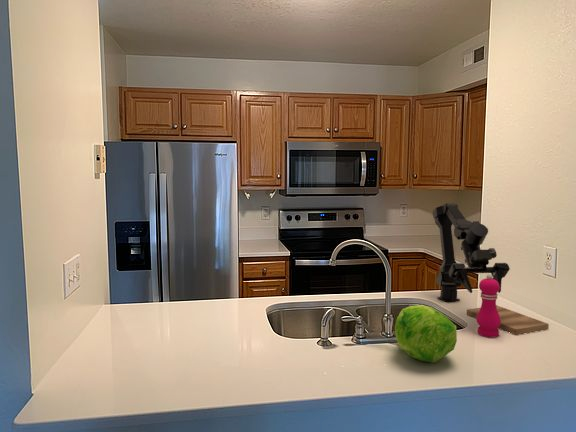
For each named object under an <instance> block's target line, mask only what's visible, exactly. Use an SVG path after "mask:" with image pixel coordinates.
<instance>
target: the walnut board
mask: <svg viewBox="0 0 576 432" xmlns="http://www.w3.org/2000/svg"><path fill="white" fill-rule="evenodd" d="M480 308H481V307H475V308H469V309H468V308H467V309H466V315H467V316H469V317H471V318H473V319H477V314H478V312H479V310H480ZM496 308H497V311H498V313H499V316H500V319H501V325H500V326H499V327H498V329H500V330H503V331H505V332H506V331H507V333H509V332H510V333H509V334H511V333H512V334H511V335H514V336H520V335H519V334H521V335H525V334H524V333H527V334H531V333H530V332H532V333H536V332H535V331H538V332H542V331H541V330H543V331H547V329H548V330H549V326H550V325H549V323H547V322H544V321H542V320H539V319H536V318H533V317H531V316H528V315H525V314H522V313H519V312H517V311H515V310H511V309H508V308H505V307H503V306H499V305H497V304H496Z"/></svg>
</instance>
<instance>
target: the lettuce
mask: <svg viewBox="0 0 576 432" xmlns="http://www.w3.org/2000/svg"><path fill="white" fill-rule="evenodd" d="M395 321H396V322H395V324H394V325H395V326H394V333H395V339H396V341H397V345H398V347H399V348H400V350H402V351H403V352H405V353H406V354H407V355H408V356H409V357H411V358H414V359H415V360H418V361H420V362H421V361H422V362H427V363H436V362H438V361H440V360H441V359H442V358H444V357H446V356H447V355H448V354H450V353H451V352H452V351H454V350H455V347H456V345H457V342H458V341H457V339H458V338H457V335H458V334H457V332H458V331H457V325H456V324H454V322H452V321H451V320H450V318H449V317H447V315H445V314H443V313H442V312H440V311H438V310H437V309H435V308H433V307H431V306H427V305H421V304H419V305H411V306H410V305H409V306H407V307H404V308H402V309H401V311H400V312H399V314H398V316H397V317H396V320H395Z"/></svg>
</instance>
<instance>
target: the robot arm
mask: <svg viewBox="0 0 576 432" xmlns="http://www.w3.org/2000/svg"><path fill="white" fill-rule="evenodd" d="M432 218H433V219H434V223H435V225H436V226H437V227H438V229H439V235H440V244H441V245H440V246H441V257H442V263H441V265H440V268H439V272H438V273H437V274H438V275H437V277H436V285H438V286H439V287H440V296H437V299H439V300H441V301H443V302H445V303H450V302H456V301H457V302H459V301H460V298H458V287H464V288H465V289H466V290H467V291H468V292H469V293H470V294H472V293H473V288H472V285H471V282H470V280H469V276H468V274H491V275H492V276H493V277H492V279H494V280H496V281H497V282H498V283H499V286H500V289H499V291H498V292H497V293H498V294H500V293H501V292H502V279H503V278H505V277H506V275H507V274H508V273H509V271H510V270H511V268H510V265H509V264H508V263H507V262H495V263H494V264H493V266H487V265H489V264H490V262H489V261H491V260H492V259H495V258H497V252H496V249H495V247H493V248H492V247H489V248H488V249H482V248H481V245H482V244H483V243H484V242H485V240H486V237H487V235H488V234H489V228H488V227H487V226H486V225H484V224H482V223H480V221H479V220H474V221H470V220H468V219H466V217H465V216H464V215H463V213H462V212H461V210H460V209H459V205H458V204H457V203H454V202H453V203H448V202H447V203H446V202H445V203H443V205H440V206H437V207H435V208H434V209H433V210H432ZM452 226H453V232H452ZM453 234H454V237H455V239H456V240H458V241H460V240H462V242H461V247H460V250H461V251H463V255H464V262H465V263H462V262H461V263H459V262H458V263H457V262H456V258H455V257H456V256H455V250H454V239H453ZM465 264H467V266H466V265H465Z"/></svg>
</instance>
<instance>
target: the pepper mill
mask: <svg viewBox="0 0 576 432" xmlns="http://www.w3.org/2000/svg"><path fill="white" fill-rule="evenodd" d="M485 277H486V278H482V279H481V280H480V282H479V283H478V288H479V290H480V298H481V305H480V307H479V308H480V310H479V312H478V314H477V319H476V318H475V319H476V320H475V322H476V324H477V325H478V327H477V333H478V335H480V336H482V337H487V338H497V337H499V336H500V330H499V328H498V327H499V326H500V325H501V319H500V316H499V313H498V311H497V308H496V305H497V300H498V298H499V297H498V296H499V295H498V294H499V292H498V291H499V289H500V286H499V283H498V282H497V281H496V280H494V279H492V278H493V276H492V274H491V273H486V276H485Z"/></svg>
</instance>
